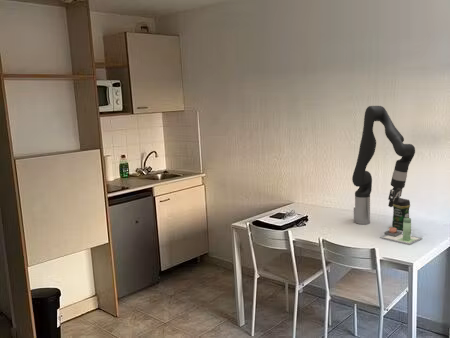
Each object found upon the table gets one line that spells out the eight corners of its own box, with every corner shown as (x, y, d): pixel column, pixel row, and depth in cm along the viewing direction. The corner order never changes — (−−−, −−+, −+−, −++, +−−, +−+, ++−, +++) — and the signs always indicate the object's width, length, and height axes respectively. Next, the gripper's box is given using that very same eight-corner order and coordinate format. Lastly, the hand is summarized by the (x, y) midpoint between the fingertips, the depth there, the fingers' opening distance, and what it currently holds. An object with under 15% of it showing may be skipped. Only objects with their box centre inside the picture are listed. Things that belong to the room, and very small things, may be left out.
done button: (387, 232, 256) (387, 228, 256) (391, 230, 259) (391, 226, 258) (394, 233, 253) (394, 229, 253) (397, 232, 256) (398, 228, 255)
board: (378, 238, 253) (378, 234, 253) (392, 232, 262) (392, 229, 262) (409, 245, 239) (409, 241, 239) (422, 239, 248) (422, 235, 248)
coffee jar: (389, 227, 272) (390, 198, 269) (398, 225, 275) (399, 196, 273) (403, 231, 263) (403, 200, 260) (412, 228, 267) (412, 198, 264)
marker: (401, 239, 246) (401, 218, 244) (405, 238, 248) (405, 217, 246) (408, 241, 243) (408, 219, 241) (411, 239, 245) (412, 218, 243)
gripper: (396, 174, 259) (390, 201, 263) (388, 178, 248) (382, 205, 252) (409, 178, 254) (403, 204, 259) (401, 182, 243) (395, 209, 248)
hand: (392, 205), depth 255 cm, fingers open, 8 cm apart
